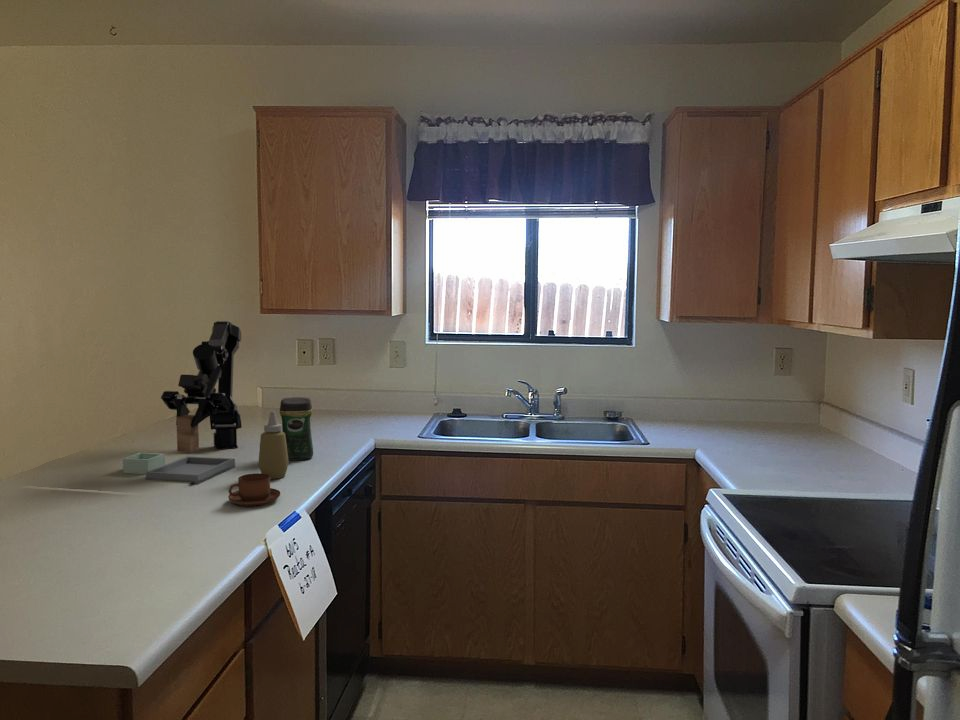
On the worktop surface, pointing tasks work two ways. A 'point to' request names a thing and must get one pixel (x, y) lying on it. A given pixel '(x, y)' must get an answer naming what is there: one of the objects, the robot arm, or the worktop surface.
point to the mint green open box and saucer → (253, 490)
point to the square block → (187, 434)
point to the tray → (191, 469)
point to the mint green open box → (143, 462)
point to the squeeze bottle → (273, 449)
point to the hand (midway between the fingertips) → (184, 426)
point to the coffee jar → (297, 427)
